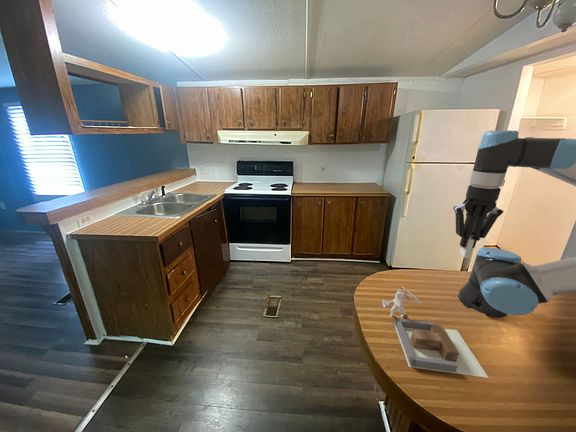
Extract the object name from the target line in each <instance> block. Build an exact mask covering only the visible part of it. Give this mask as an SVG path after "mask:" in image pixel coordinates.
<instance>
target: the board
mask: <svg viewBox="0 0 576 432" xmlns="http://www.w3.org/2000/svg"><path fill="white" fill-rule="evenodd" d="M432 324H435V323H434V322H433V321H427V320H426V321H424V320H416V319H415V320H414V319H406V318H395V322H393V326H394V328H395V331H396V335H397V336H398V339H399V342H400V345H401V348H402V350H403V354H404V355H405V356H404V357H405V359H406V362H407V364H408V368H414V369H415V368H416V369H421V370H429V371H430V370H431V371H436V372H443V373H450V374H458V375H465V376H473V377H479V378H487V379H489V376H488V374H487V373H486V372H485V370H484V369H483V367H482V366H481V364H480V362H479V361H478V359H477V358H476V356H475V355H474V353H473V352H472V351H471V349H470V348H469V346H468V345H467V343H466V342H465V340H464V338H463V337H462V336H461V334H460V332H459V331H458V330H457V329H449V328H444V329H445V331H446V332H447V334H448V335H449V337H450V339H451V340H452V342H453V344H454V345H455V347H456V349H457V350H458V352H459V355H458V358H457V361H456V362H453V361H445V360H443V359H442V357H441V355H440V353H439V351H433V350H425V349H417V348H414V347H413V345H412V342H411V335H412V331H413V330H416V331H424V332H430V330H431V326H432Z"/></svg>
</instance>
